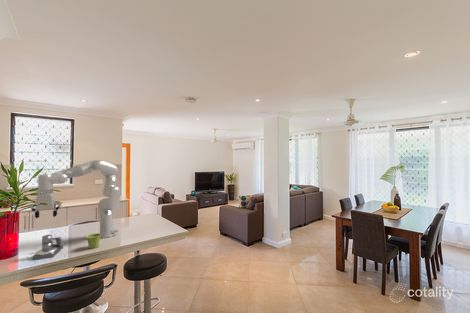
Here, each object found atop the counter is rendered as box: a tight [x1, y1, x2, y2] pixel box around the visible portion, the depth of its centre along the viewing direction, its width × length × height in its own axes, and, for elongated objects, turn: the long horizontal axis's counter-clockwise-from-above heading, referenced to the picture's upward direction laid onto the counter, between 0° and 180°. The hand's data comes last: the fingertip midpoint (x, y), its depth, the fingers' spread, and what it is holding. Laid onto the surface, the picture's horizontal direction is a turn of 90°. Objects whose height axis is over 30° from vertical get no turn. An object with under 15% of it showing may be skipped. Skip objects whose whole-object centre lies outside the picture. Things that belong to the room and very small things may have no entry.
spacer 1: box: [41, 234, 53, 245], centre depth 147 cm, size 5×5×5 cm
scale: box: [32, 236, 64, 261], centre depth 149 cm, size 16×11×8 cm
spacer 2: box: [41, 243, 52, 252], centre depth 147 cm, size 5×5×5 cm
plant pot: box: [85, 232, 101, 250], centre depth 159 cm, size 9×9×9 cm
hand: (46, 217), depth 147 cm, fingers open, 9 cm apart
